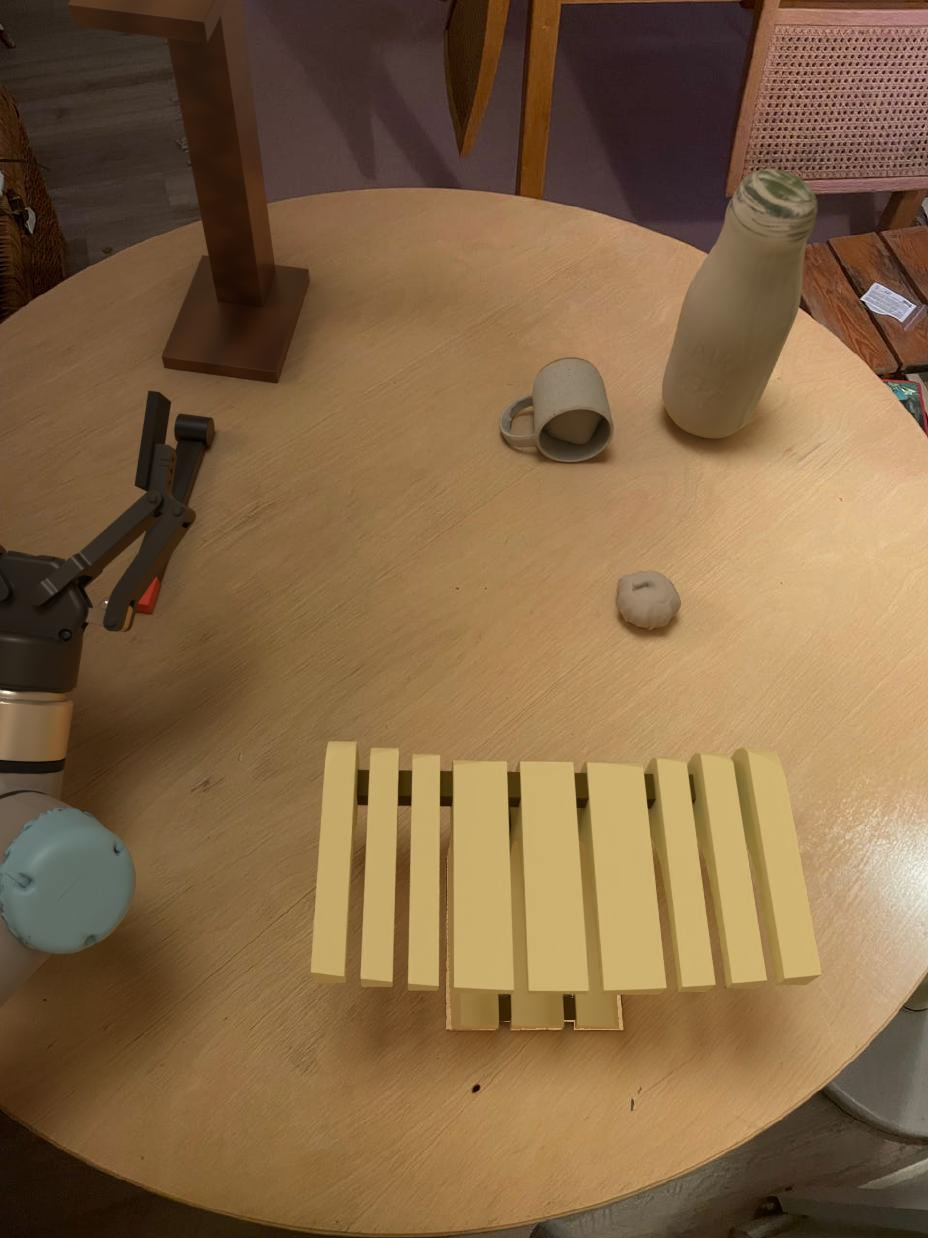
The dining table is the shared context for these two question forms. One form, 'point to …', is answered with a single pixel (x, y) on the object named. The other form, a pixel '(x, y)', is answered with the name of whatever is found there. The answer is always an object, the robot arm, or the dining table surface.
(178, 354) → the wooden post stand
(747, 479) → the dining table surface
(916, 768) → the dining table surface
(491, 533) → the dining table surface
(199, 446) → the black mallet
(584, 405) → the ceramic mug
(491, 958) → the slatted curved stool
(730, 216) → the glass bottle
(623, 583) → the garlic
